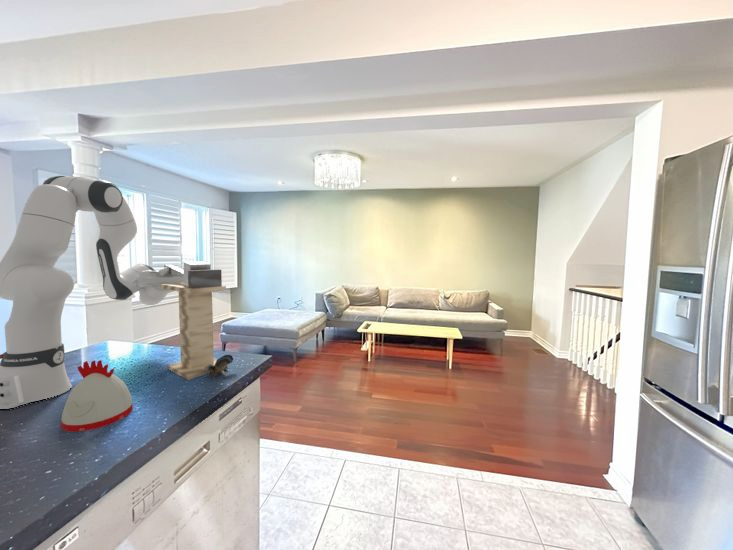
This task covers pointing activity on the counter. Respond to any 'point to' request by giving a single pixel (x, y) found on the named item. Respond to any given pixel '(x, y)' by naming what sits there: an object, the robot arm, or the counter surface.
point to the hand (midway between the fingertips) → (173, 268)
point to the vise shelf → (196, 321)
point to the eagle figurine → (219, 365)
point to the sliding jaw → (187, 266)
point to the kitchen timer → (96, 399)
